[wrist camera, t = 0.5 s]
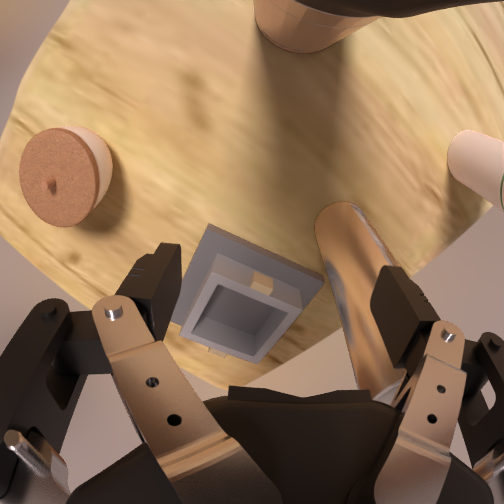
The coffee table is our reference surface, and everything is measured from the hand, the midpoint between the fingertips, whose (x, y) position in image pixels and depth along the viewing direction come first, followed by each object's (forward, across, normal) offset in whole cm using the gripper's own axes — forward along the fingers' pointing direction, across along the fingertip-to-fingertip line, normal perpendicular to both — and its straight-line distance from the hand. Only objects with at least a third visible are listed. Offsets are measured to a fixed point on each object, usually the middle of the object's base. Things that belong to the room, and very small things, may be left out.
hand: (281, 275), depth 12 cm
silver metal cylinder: (+23, -10, +7) cm, 26 cm away
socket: (+24, +2, +19) cm, 30 cm away
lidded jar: (+23, +22, +1) cm, 32 cm away
